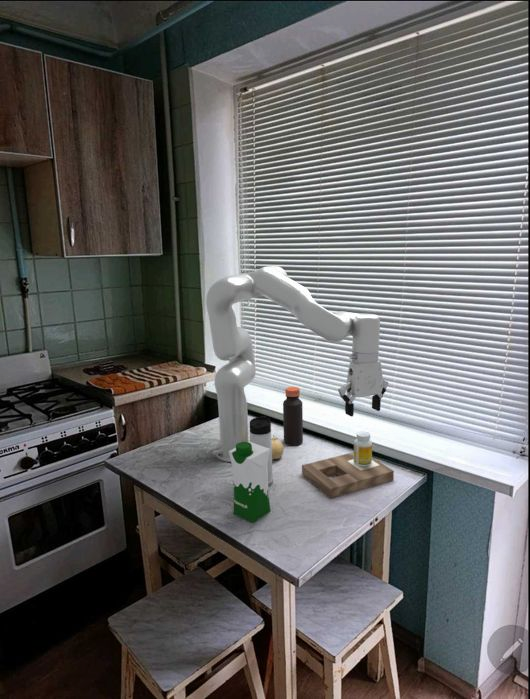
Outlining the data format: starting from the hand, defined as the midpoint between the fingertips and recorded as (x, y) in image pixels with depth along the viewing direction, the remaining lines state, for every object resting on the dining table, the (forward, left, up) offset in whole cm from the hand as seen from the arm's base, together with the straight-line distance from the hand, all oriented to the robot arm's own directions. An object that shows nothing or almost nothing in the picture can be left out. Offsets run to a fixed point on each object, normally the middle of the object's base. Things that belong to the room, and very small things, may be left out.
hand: (362, 412), depth 139 cm
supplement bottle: (0, 0, -17) cm, 17 cm away
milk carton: (-39, -4, -20) cm, 44 cm away
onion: (-20, +23, -20) cm, 36 cm away
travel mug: (-30, +9, -20) cm, 37 cm away
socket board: (-6, 0, -20) cm, 20 cm away
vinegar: (-8, +30, -20) cm, 36 cm away
